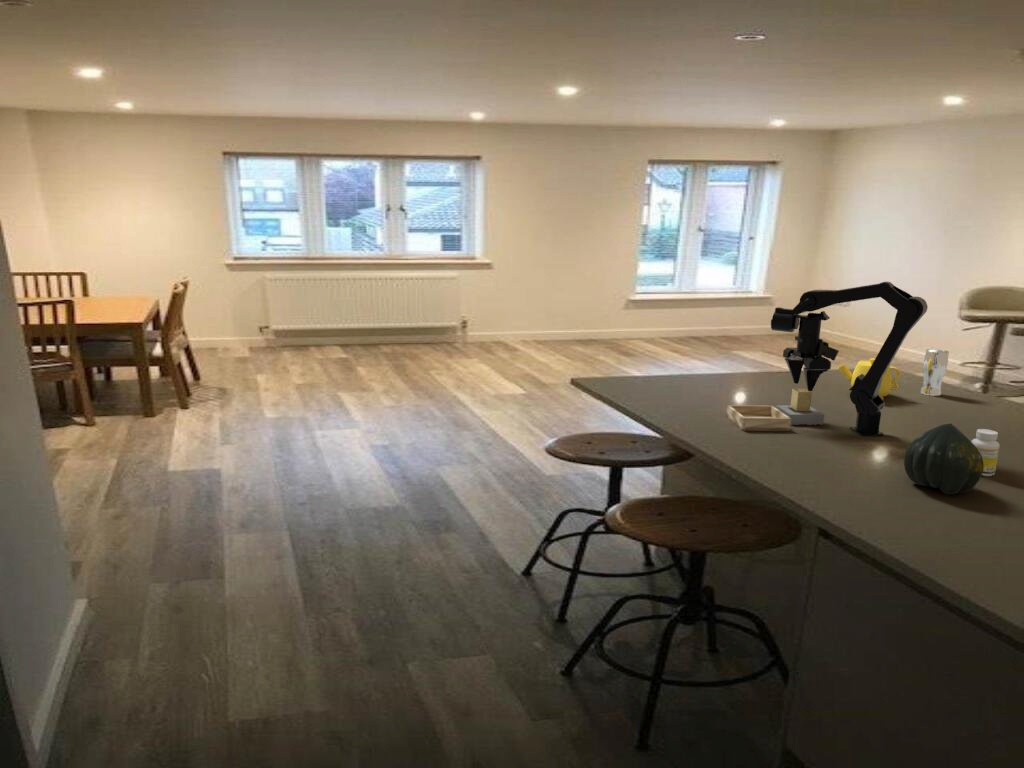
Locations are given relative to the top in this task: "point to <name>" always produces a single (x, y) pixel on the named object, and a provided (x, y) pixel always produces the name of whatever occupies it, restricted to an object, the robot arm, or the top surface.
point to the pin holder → (802, 416)
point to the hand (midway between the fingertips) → (802, 387)
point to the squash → (944, 460)
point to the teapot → (863, 369)
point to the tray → (758, 418)
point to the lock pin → (801, 400)
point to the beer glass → (934, 371)
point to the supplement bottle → (987, 449)
